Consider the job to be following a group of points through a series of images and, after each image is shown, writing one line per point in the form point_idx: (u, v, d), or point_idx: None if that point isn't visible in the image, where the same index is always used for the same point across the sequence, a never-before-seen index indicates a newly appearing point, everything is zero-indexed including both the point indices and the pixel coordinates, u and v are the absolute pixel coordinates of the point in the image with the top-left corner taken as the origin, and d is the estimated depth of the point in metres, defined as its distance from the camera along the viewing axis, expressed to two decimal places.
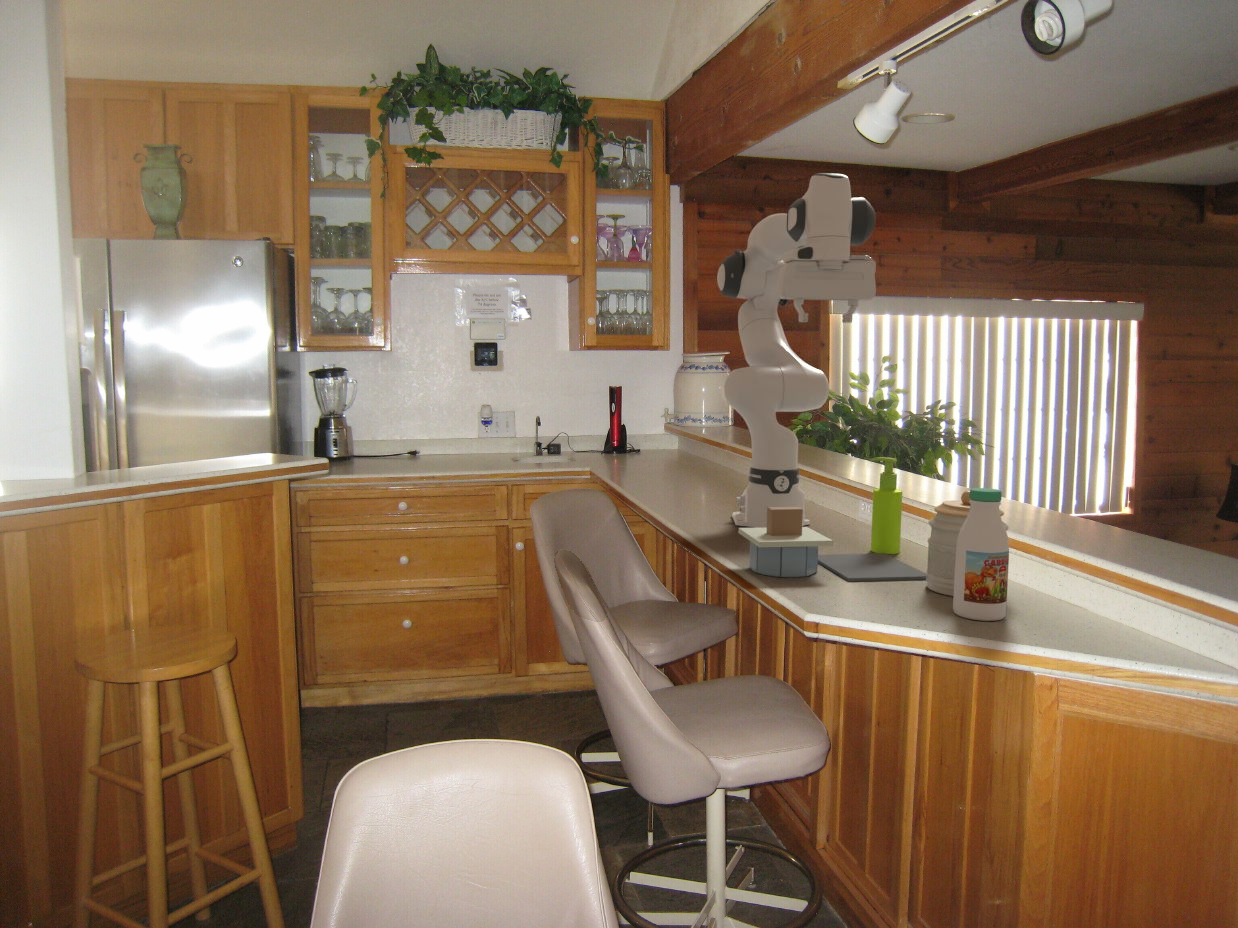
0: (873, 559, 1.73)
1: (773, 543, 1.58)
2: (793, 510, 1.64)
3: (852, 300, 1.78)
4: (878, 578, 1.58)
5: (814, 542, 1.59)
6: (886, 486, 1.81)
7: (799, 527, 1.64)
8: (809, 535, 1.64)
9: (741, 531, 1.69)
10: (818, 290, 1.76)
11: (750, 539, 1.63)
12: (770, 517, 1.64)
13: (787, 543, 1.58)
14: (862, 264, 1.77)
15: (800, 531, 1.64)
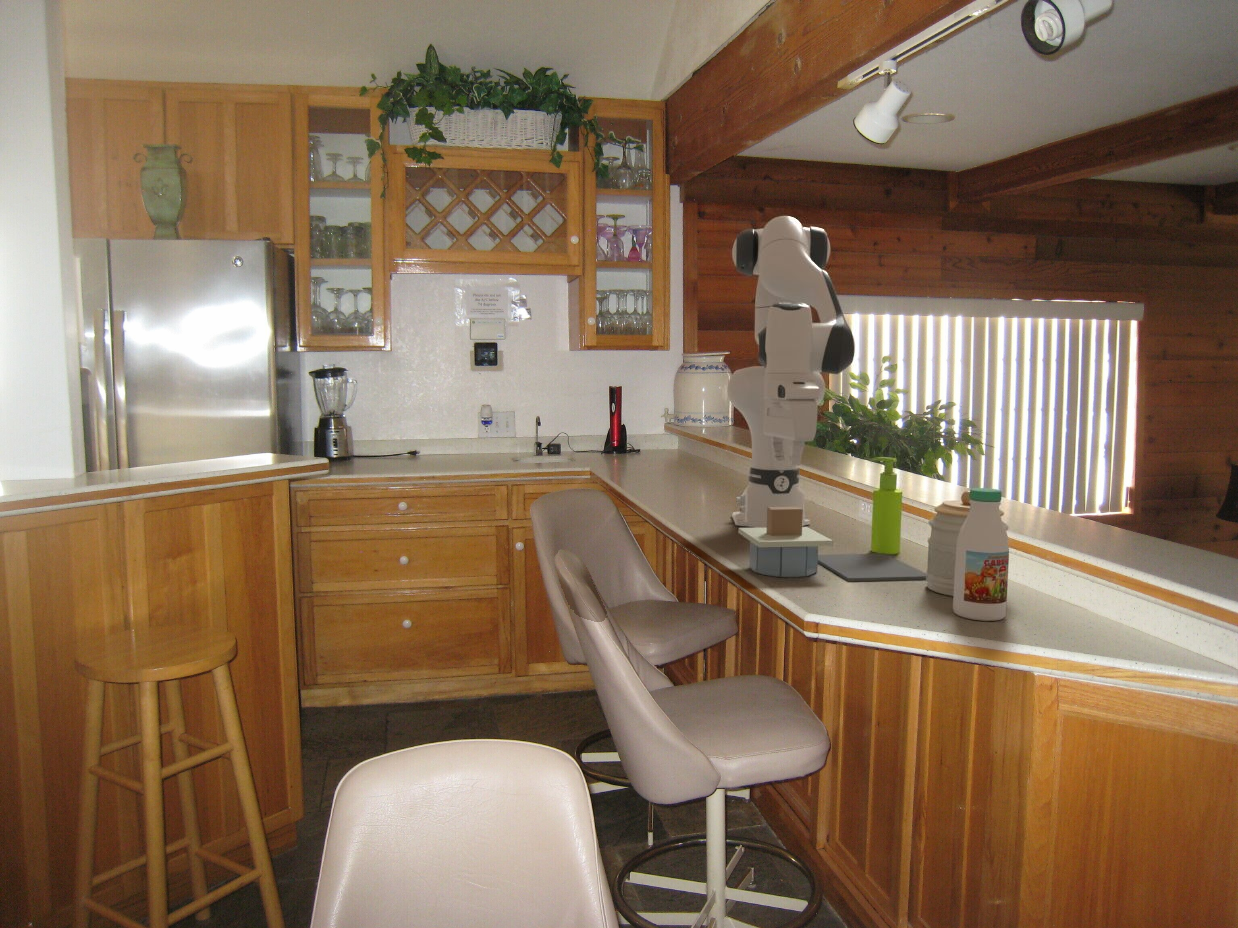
0: (873, 559, 1.73)
1: (773, 543, 1.58)
2: (793, 510, 1.64)
3: None
4: (878, 578, 1.58)
5: (814, 542, 1.59)
6: (886, 486, 1.81)
7: (799, 527, 1.64)
8: (809, 535, 1.64)
9: (741, 531, 1.69)
10: None
11: (750, 539, 1.63)
12: (770, 517, 1.64)
13: (787, 543, 1.58)
14: None
15: (800, 531, 1.64)
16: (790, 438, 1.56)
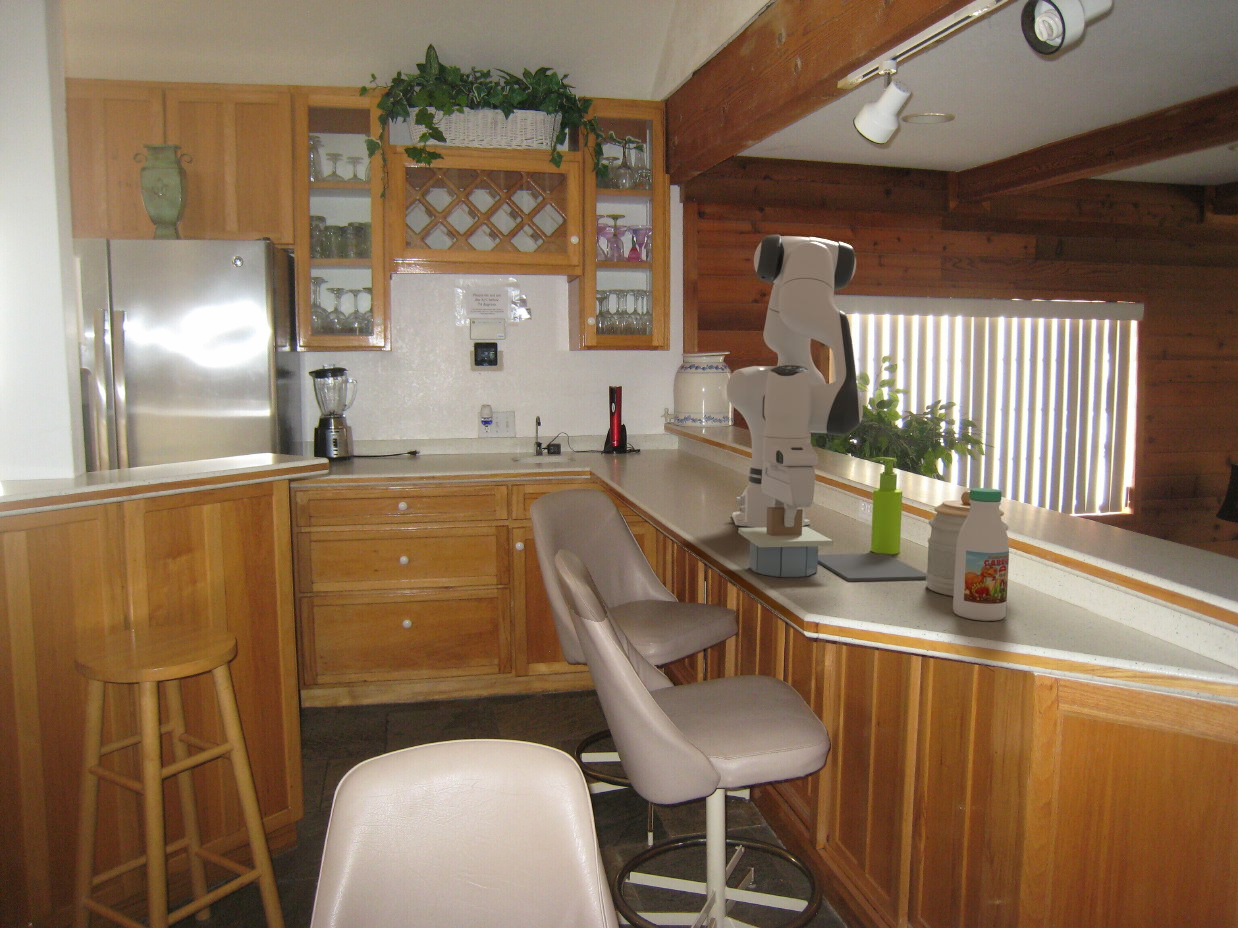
0: (873, 559, 1.73)
1: (773, 543, 1.58)
2: None
3: None
4: (878, 578, 1.58)
5: (814, 542, 1.59)
6: (886, 486, 1.81)
7: (799, 527, 1.64)
8: (809, 535, 1.64)
9: (741, 531, 1.69)
10: None
11: (750, 539, 1.63)
12: (770, 517, 1.64)
13: (787, 543, 1.58)
14: None
15: (800, 531, 1.64)
16: (788, 503, 1.58)
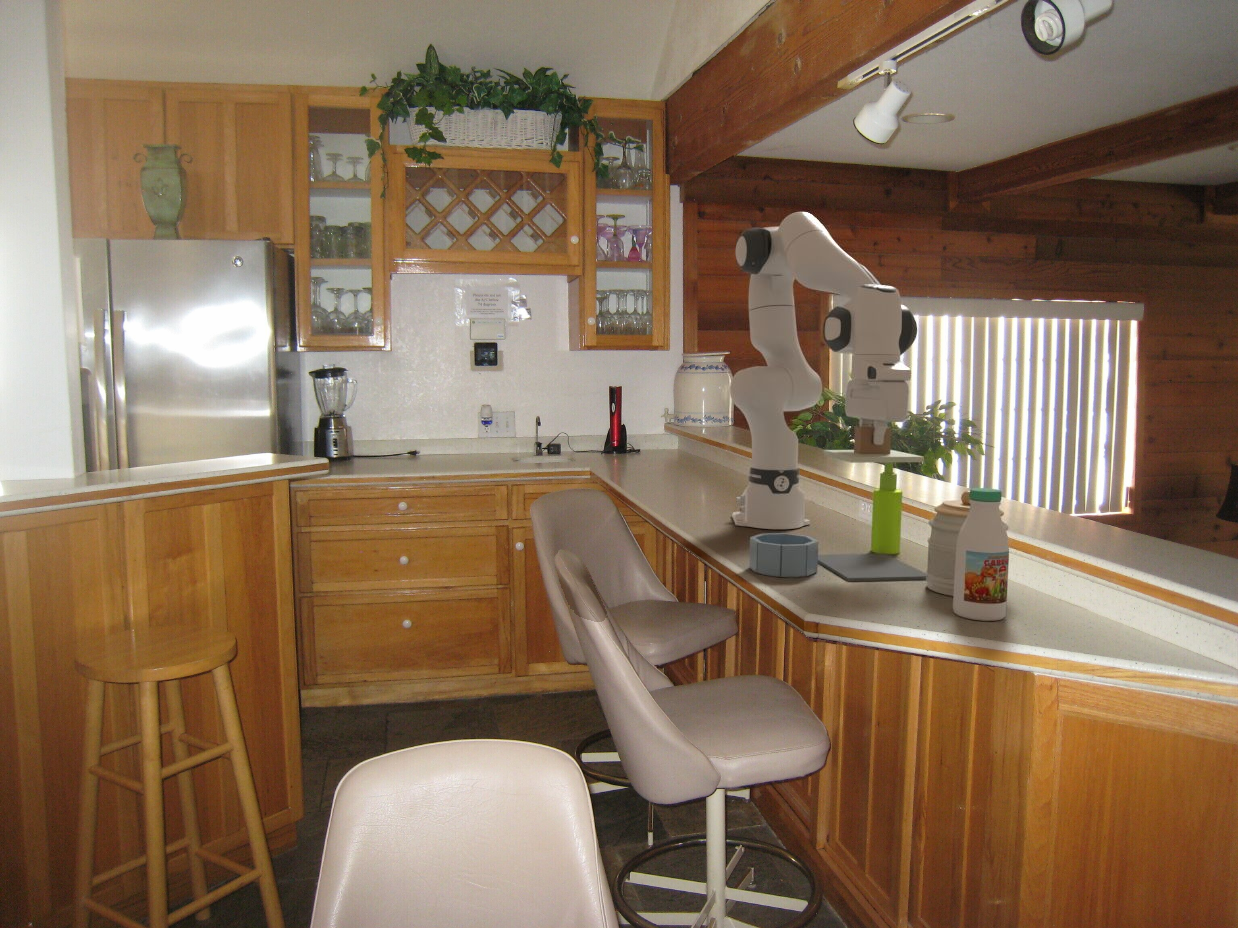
0: (873, 559, 1.73)
1: (865, 458, 1.59)
2: None
3: None
4: (878, 578, 1.58)
5: (905, 458, 1.60)
6: (886, 486, 1.81)
7: (888, 446, 1.65)
8: (897, 454, 1.65)
9: (827, 452, 1.70)
10: None
11: (839, 457, 1.64)
12: (859, 436, 1.64)
13: (879, 459, 1.59)
14: None
15: (888, 450, 1.65)
16: (880, 419, 1.58)
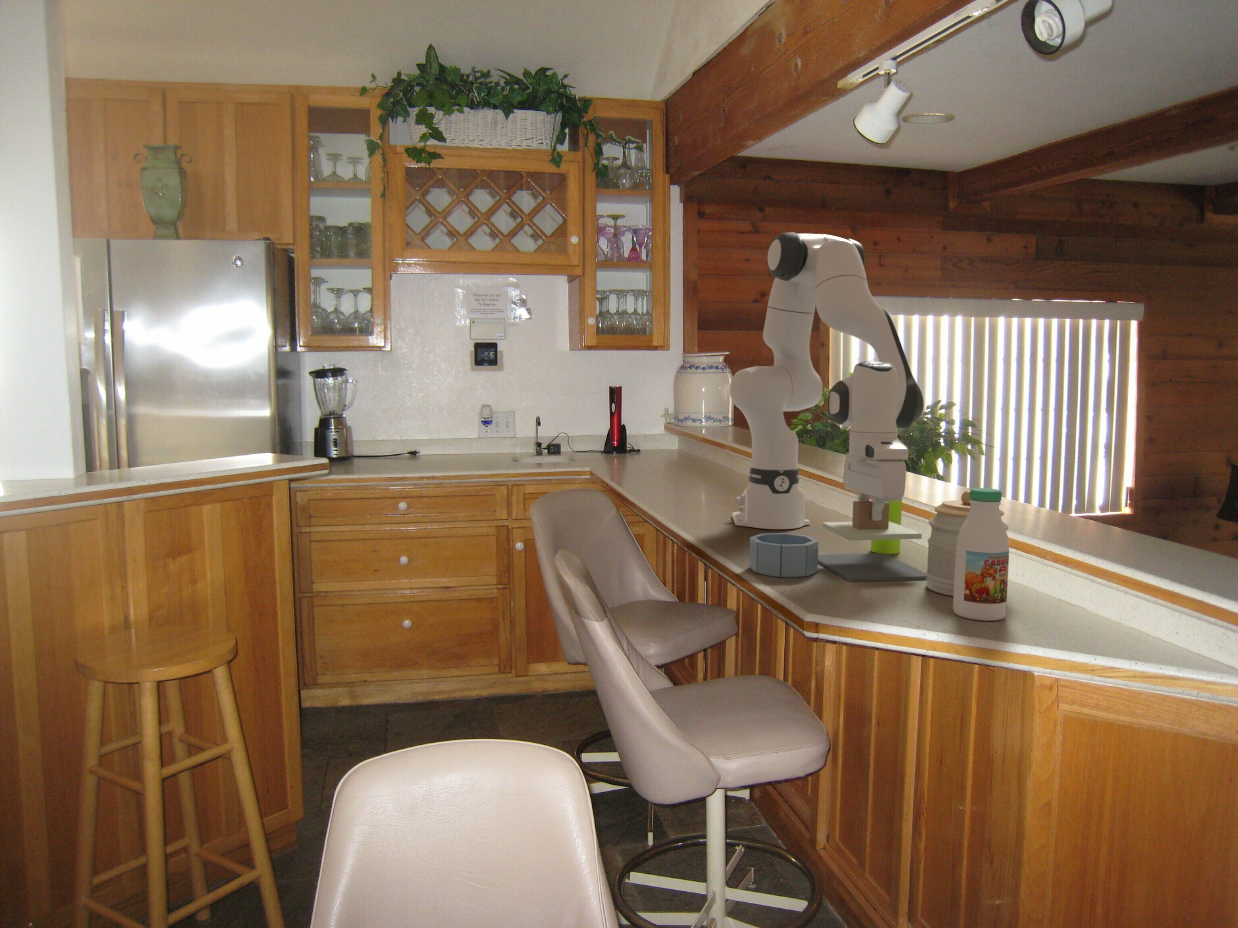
0: (873, 559, 1.73)
1: (863, 536, 1.60)
2: None
3: None
4: (878, 578, 1.58)
5: (903, 535, 1.61)
6: None
7: (886, 521, 1.66)
8: (896, 528, 1.66)
9: (826, 525, 1.71)
10: None
11: (838, 533, 1.65)
12: (857, 511, 1.66)
13: (877, 536, 1.60)
14: None
15: (887, 525, 1.66)
16: (878, 497, 1.60)
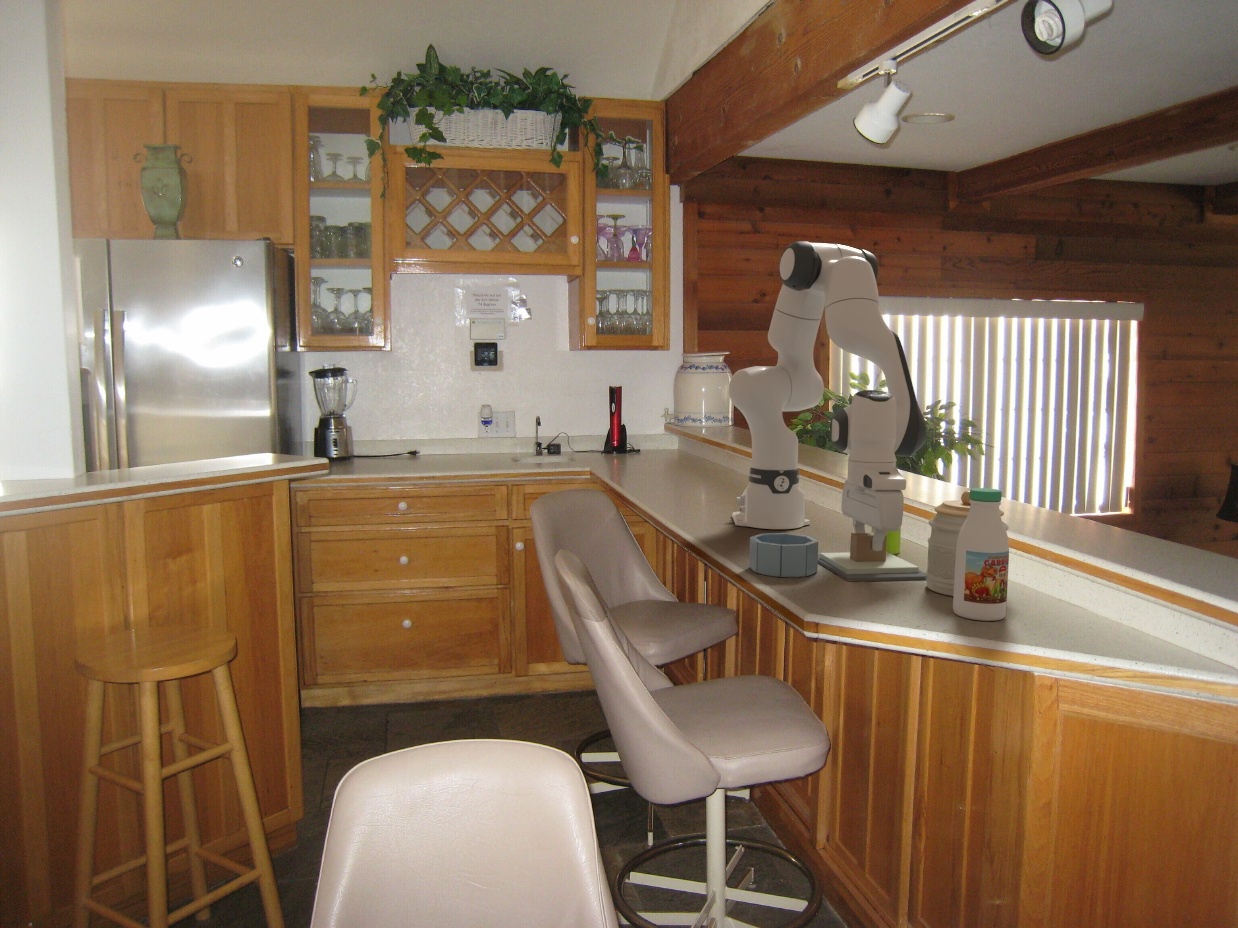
0: None
1: (860, 569, 1.61)
2: None
3: None
4: (878, 578, 1.58)
5: (900, 569, 1.62)
6: None
7: (883, 553, 1.67)
8: (893, 561, 1.67)
9: (823, 556, 1.72)
10: None
11: (835, 565, 1.66)
12: (855, 544, 1.67)
13: (875, 570, 1.61)
14: None
15: (884, 557, 1.67)
16: (875, 527, 1.60)
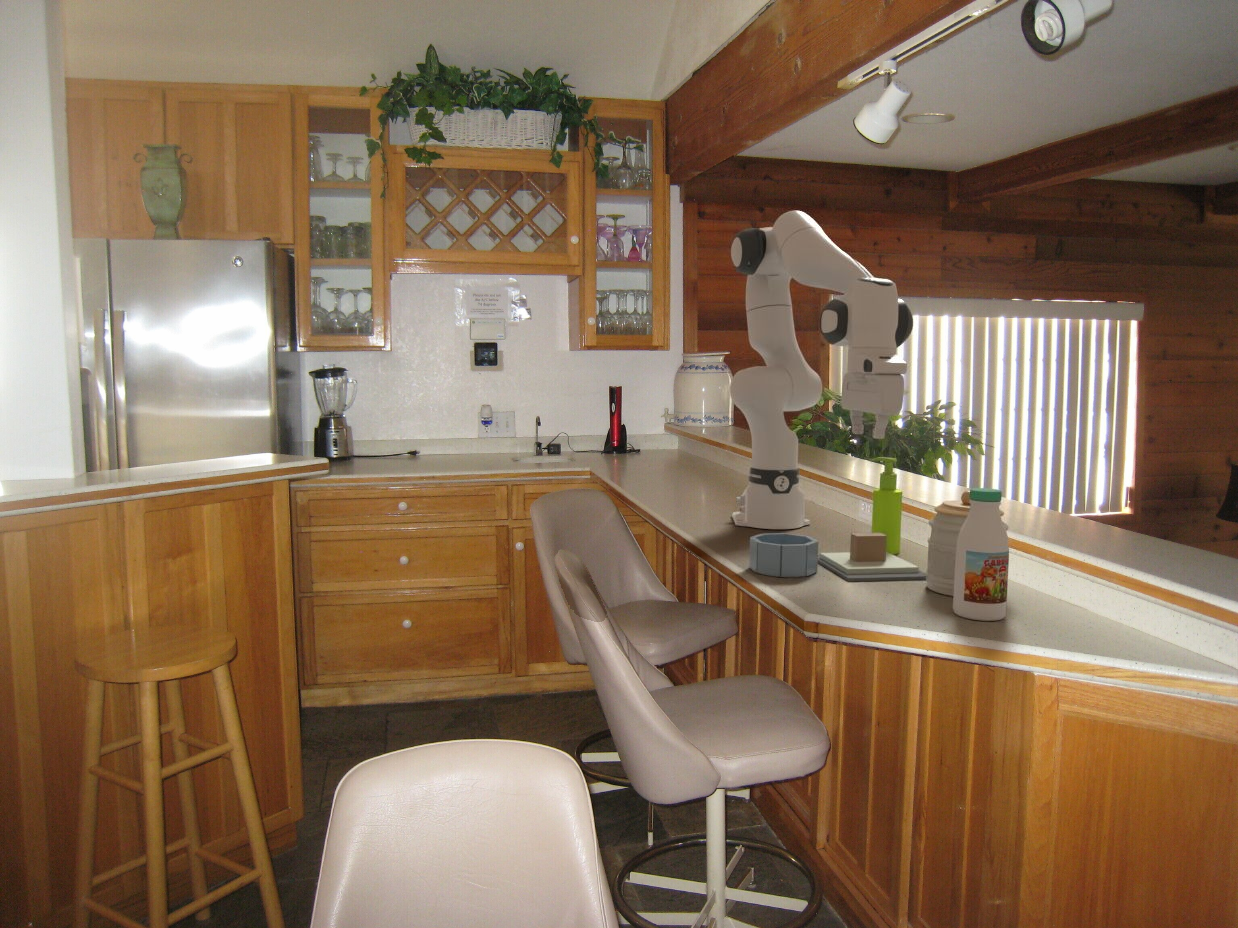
0: None
1: (860, 569, 1.61)
2: (877, 536, 1.67)
3: None
4: (878, 578, 1.58)
5: (900, 569, 1.62)
6: (886, 486, 1.81)
7: (883, 553, 1.67)
8: (893, 561, 1.67)
9: (823, 556, 1.72)
10: None
11: (835, 565, 1.66)
12: (855, 544, 1.67)
13: (875, 570, 1.61)
14: None
15: (884, 557, 1.67)
16: (875, 412, 1.59)
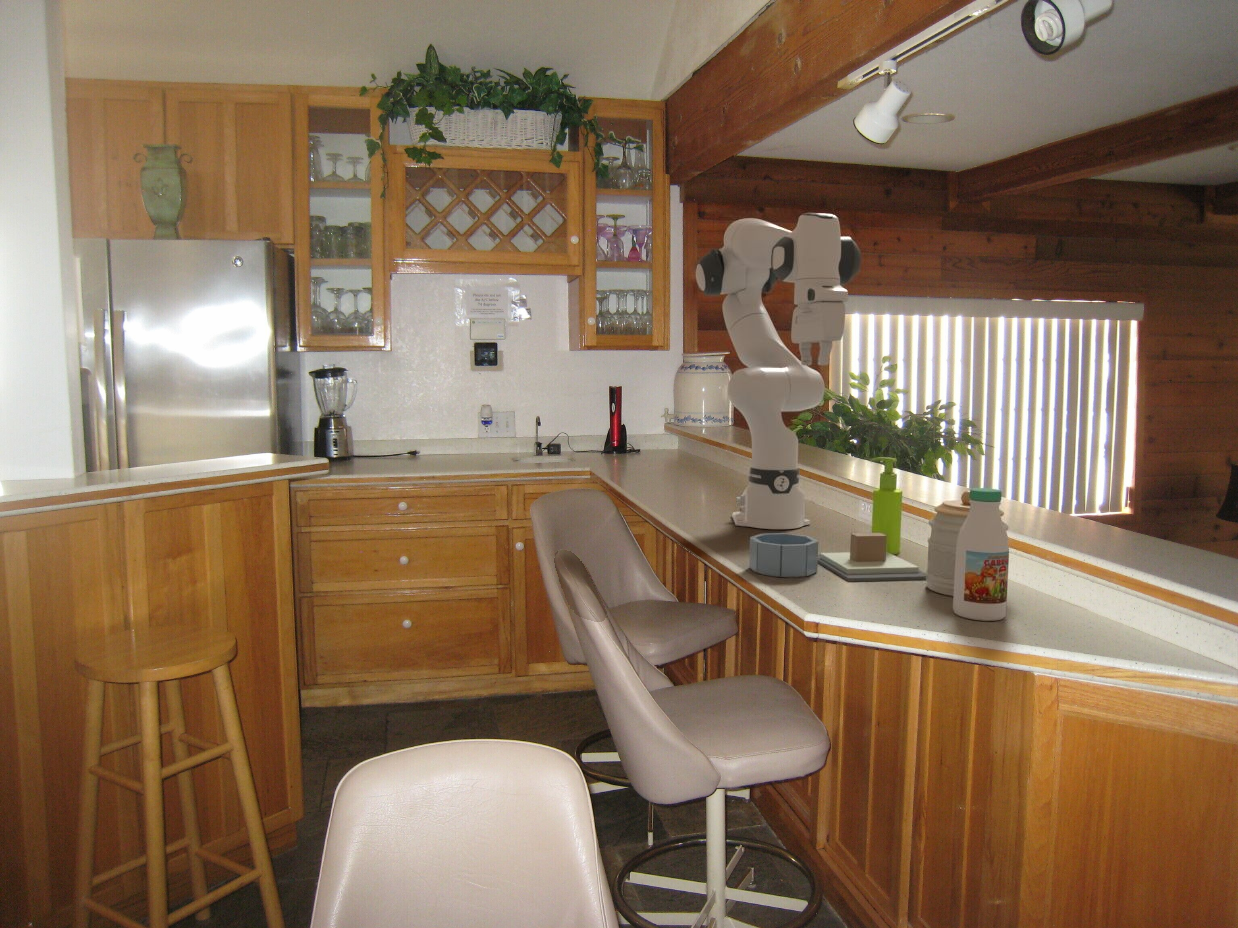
0: None
1: (860, 569, 1.61)
2: (877, 536, 1.67)
3: (810, 343, 1.79)
4: (878, 578, 1.58)
5: (900, 569, 1.62)
6: (886, 486, 1.81)
7: (883, 553, 1.67)
8: (893, 561, 1.67)
9: (823, 556, 1.72)
10: None
11: (835, 565, 1.66)
12: (855, 544, 1.67)
13: (875, 570, 1.61)
14: None
15: (884, 557, 1.67)
16: (819, 338, 1.66)
